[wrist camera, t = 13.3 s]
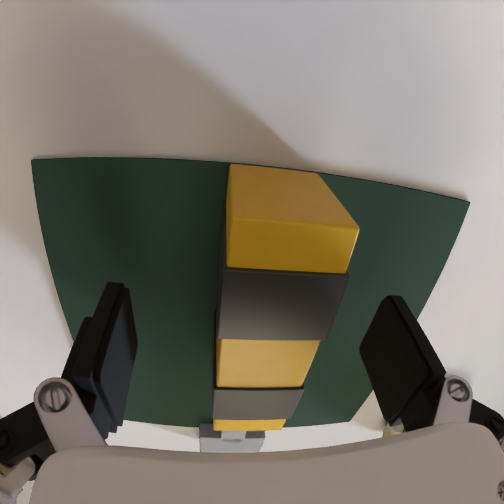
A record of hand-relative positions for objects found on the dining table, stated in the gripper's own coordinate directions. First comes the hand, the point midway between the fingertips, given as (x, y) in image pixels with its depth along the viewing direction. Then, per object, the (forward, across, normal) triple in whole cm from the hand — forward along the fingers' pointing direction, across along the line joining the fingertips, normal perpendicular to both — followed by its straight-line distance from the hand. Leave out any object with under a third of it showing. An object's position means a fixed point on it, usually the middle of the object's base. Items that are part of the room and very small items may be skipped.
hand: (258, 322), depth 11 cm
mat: (+2, 0, +4) cm, 5 cm away
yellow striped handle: (+2, 0, +5) cm, 6 cm away
